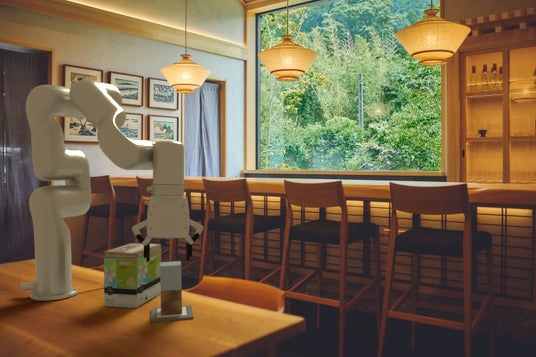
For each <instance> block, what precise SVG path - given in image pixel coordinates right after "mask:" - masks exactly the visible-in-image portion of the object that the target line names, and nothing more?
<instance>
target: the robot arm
mask: <svg viewBox="0 0 536 357" xmlns="http://www.w3.org/2000/svg"><path fill="white" fill-rule="evenodd" d="M25 102H26V103H25V112H26V113H25V114H26V118H27V121H28V125H29V129H30V138H31V141H30V142H31V157H32V168H33V173H34V175H35V178H37V179H38V180H40V181H46V182H57V181H60V182H61V181H64V182H65V184H64V185H63V184H60V185H44V186H42V187H38V188H37V189H35V190H34V191H32V193H31V195H30V197H29V198H28V199H29V200H28V207H29V211H30V213H31V218H32V225H33V234H34V235H33V238H34V263H35V265H34V268H35V269H34V270H35V271H34V272H35V280H34V281H32V282H20V284H19V290H21V292H22V291H23V292H25V291H30V294H29V298H30V299H31V300H34V301H40V302H45V301H46V302H48V301H57V300H63V299H67V298H70V297H71V298H72V297H73V296H76V295H77V294H78V292H79V290H78V287H77V286H73V273H72V270H73V269H72V268H73V267H72V244H71V243H72V240H71V239H72V238H71V237H72V236H71V230H70V227H69V226H68V224H67V223H66V222H65V219H64V218H70V217H71V218H72V217H79V216H82V215H85V214H86V213H87V212H88V211H89V210H90V208H91V205H92V204H91V203H92V188H91V174H90V173H91V172H90V164H89V159H88V158H87V155H85V153H84V152H83V151H82V150H80V149H77V148H68V147H67V148H66V146H65V139H64V137H65V136H64V131H63V128H62V126H61V124H60V123H59V122H58V121H57V119H56V117H63V118H73V119H87V120H88V121H89V122H90V124H92V126H93V127H94V128H95V129H96V130H97V132H96V137H97V143H98V145H99V148H100V150H101V151H102V153H103V154H104V155H105V156H106V157H107V158H108V159H109V160H110V162H112V163H113V164H114V165H115V166H117V168H120V169H121V170H125V171H152V185H149V186H146V192H147V193H151V194H152V195H151V196H150V197H149V199H148V205H147V213H146V214H147V215H146V216H147V219H145V220H143V221H142V222H139V223H137V224H135V225H134V226H132V227H131V230H132V233H133V234H134V236H135V238H136V239H137V240H138V242H140V244H143V245H144V258H146V262H149V261H150V244H151V243H150V242H151V240H152V239H182V238H184V240H185V241H186V244H185V245H186V246H185V258H186V261H190V257H193V244H194V243H195V242H196V241H197V240H198V239H199V238H200V235H201V234H202V232H203V231H204V228H205V227H204V225H202V224H200V223H198V222H196V221H195V220H192V219H191V218H190V209H189V201H188V197H187V196H185V145H184V144H183V143H182V142H181V141H178V140H158V141H157V140H147V139H131V138H129V137H127V136H126V134H124V133H123V132H122V131H121V130H120V129H121V128H122V127H123V126H124V125H125V123H126V121H127V115H126V111H125V110H124V109H123V108H122V104H123V97H122V93H121V91H120V90H119V88H118V87H116V86H115V85H113V84H111V83H107V82H102V81H96V80H92V79H80V80H78V81H76V82H74V83H73V84H72V85H71V86H70V87H68V86H62V85H56V84H42V85H38V86H36V87H33V88H32V89H31V91H30V92H29V93H28V95H27V99H26V101H25ZM190 226H191V227H193V228H195V229H196V230H195V233H193V235H190V234H189V233H190ZM145 227H146V234H147V235H146V236H145V237H144V236H143V235H142V234H141V232H140V230H141V229H142V228H145Z"/></svg>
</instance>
